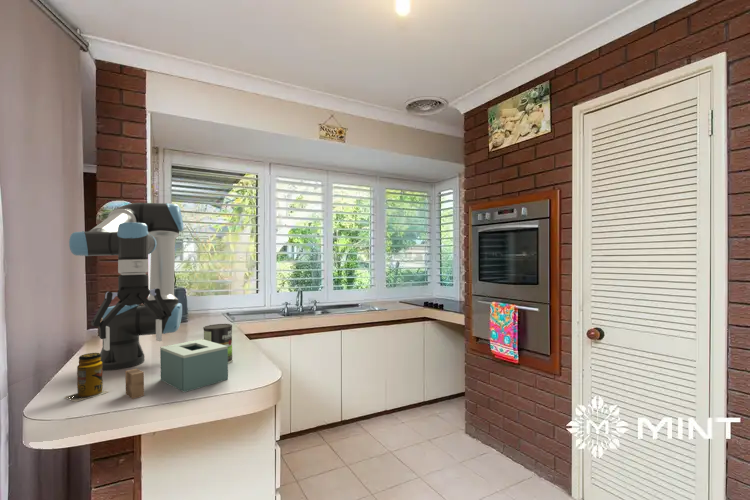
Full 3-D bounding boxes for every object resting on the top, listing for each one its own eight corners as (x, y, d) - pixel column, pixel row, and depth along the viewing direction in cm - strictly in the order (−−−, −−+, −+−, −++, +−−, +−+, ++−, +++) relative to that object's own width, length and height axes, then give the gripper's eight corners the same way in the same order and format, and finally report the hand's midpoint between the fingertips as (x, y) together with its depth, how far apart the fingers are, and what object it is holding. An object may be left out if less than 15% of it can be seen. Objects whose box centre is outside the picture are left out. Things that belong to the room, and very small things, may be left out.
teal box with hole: (160, 380, 122) (160, 347, 122) (202, 369, 132) (202, 339, 133) (184, 392, 110) (183, 355, 110) (228, 379, 121) (227, 346, 121)
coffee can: (237, 358, 145) (237, 323, 145) (223, 366, 135) (222, 328, 135) (214, 358, 147) (213, 323, 147) (197, 366, 137) (197, 328, 137)
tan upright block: (125, 394, 110) (125, 370, 110) (136, 391, 112) (136, 368, 112) (132, 399, 106) (132, 374, 106) (144, 395, 108) (143, 372, 108)
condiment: (108, 392, 111) (108, 353, 112) (75, 402, 104) (75, 360, 104) (96, 388, 115) (96, 350, 115) (63, 398, 107) (63, 357, 108)
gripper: (84, 276, 97) (85, 356, 97) (182, 272, 116) (183, 338, 116) (77, 276, 102) (78, 352, 102) (172, 272, 121) (173, 336, 121)
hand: (134, 345), depth 109 cm, fingers open, 13 cm apart
